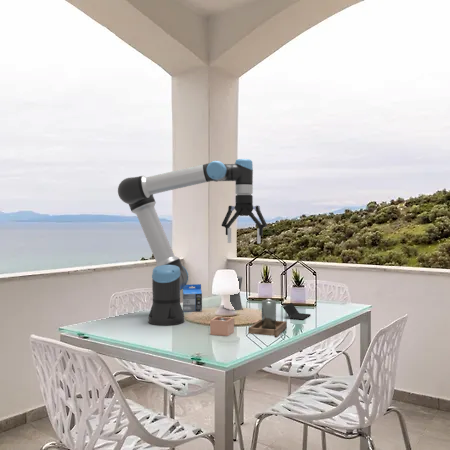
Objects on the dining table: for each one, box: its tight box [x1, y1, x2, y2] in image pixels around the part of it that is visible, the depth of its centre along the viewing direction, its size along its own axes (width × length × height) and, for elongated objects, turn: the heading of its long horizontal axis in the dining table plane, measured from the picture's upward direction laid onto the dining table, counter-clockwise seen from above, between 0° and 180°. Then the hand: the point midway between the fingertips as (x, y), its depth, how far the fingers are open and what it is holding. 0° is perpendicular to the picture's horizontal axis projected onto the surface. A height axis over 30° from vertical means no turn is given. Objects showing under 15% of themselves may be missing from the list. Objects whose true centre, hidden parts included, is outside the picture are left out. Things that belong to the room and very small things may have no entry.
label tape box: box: [182, 283, 203, 313], centre depth 242 cm, size 9×4×12 cm, turn 97°
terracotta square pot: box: [209, 315, 235, 337], centre depth 197 cm, size 7×7×6 cm
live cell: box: [261, 298, 277, 330], centre depth 203 cm, size 6×6×12 cm
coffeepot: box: [230, 275, 243, 311], centre depth 249 cm, size 15×9×18 cm, turn 27°
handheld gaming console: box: [283, 302, 311, 321], centre depth 229 cm, size 12×7×10 cm
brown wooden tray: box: [247, 319, 288, 338], centre depth 202 cm, size 11×16×3 cm
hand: (244, 243), depth 227 cm, fingers open, 13 cm apart
